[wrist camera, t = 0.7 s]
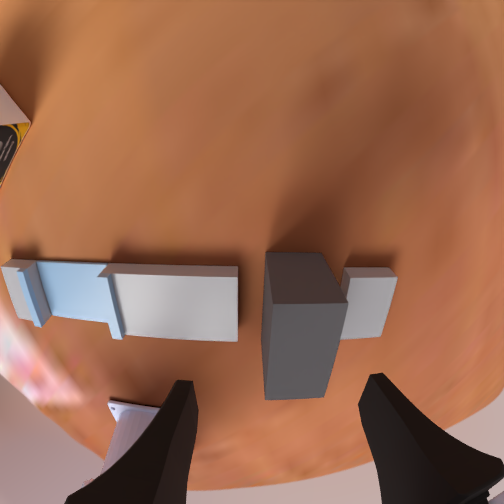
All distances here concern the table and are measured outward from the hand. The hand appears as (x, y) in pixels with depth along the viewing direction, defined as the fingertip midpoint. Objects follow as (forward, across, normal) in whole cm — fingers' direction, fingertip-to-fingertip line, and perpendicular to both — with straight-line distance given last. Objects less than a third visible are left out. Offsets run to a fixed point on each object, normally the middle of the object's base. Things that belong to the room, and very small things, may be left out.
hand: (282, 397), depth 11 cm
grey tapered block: (+10, -2, +1) cm, 10 cm away
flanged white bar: (+10, +6, +1) cm, 12 cm away
